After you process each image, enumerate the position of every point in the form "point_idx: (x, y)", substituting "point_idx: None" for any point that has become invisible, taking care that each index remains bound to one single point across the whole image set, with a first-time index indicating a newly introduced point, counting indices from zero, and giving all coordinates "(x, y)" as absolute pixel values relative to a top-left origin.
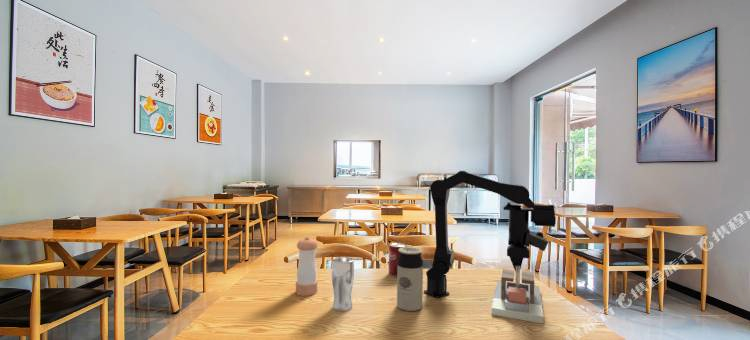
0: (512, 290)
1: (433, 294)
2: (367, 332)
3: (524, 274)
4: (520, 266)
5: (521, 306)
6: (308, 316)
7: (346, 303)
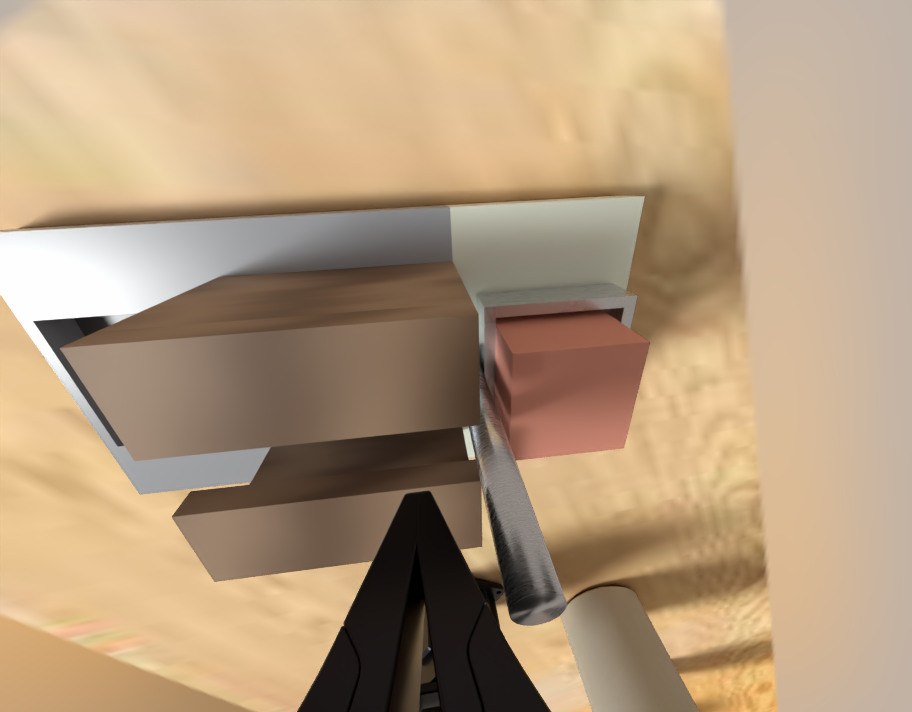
0: (597, 430)
1: (494, 602)
2: (764, 603)
3: (257, 425)
4: (466, 569)
5: None
6: (702, 680)
7: None
